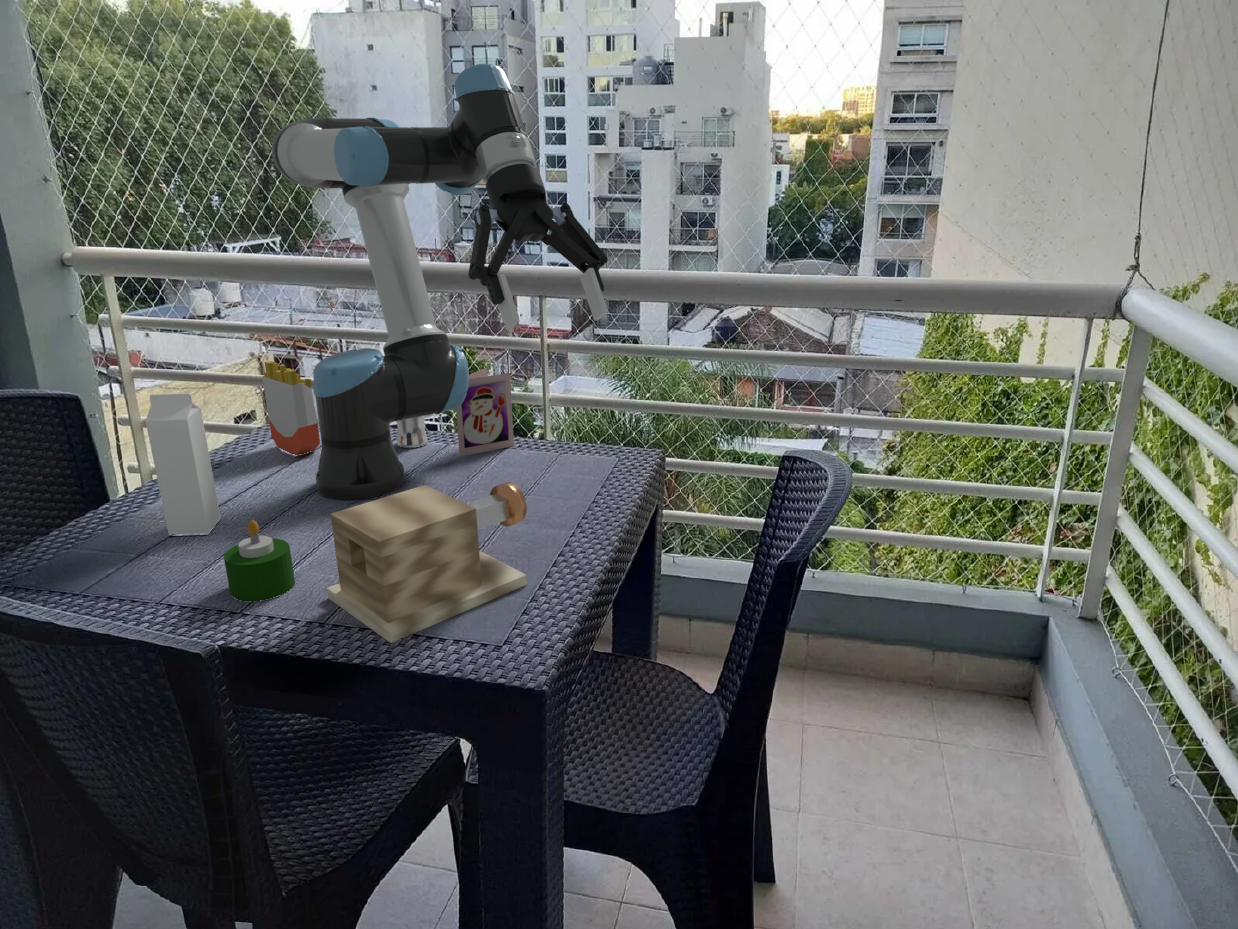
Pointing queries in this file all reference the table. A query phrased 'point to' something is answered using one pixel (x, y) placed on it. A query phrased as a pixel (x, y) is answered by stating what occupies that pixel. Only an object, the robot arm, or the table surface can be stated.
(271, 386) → the french fries container
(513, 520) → the door knob
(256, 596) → the candle
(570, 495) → the table surface
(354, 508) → the press block
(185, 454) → the milk
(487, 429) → the greeting card
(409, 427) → the beer glass
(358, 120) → the robot arm
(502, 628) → the table surface
